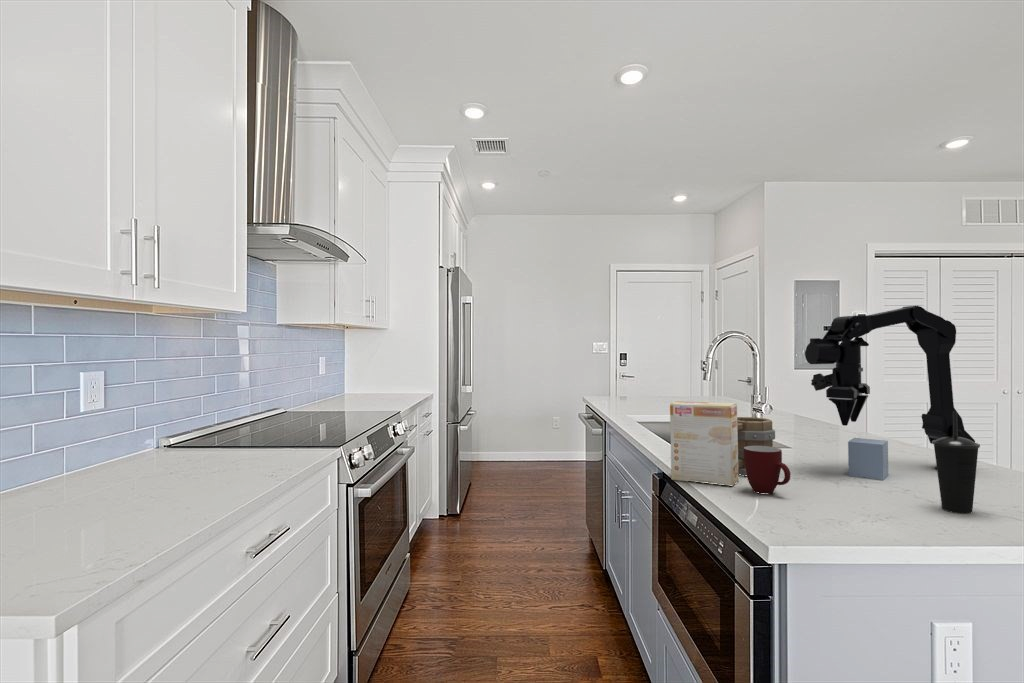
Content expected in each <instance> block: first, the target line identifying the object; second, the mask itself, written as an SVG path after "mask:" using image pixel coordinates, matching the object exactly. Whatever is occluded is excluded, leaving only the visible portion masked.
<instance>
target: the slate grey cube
mask: <svg viewBox="0 0 1024 683" xmlns="http://www.w3.org/2000/svg"><path fill="white" fill-rule="evenodd" d="M847 451H848V452H847V457H848V459H847V460H848V477H854V476H857V477H856V478H861V477H866V478H865V479H869V478H875V479H874V480H877V479H882V480H881V481H884V480H885V479H886V478H887V477H888V476H889V475H888V474H889V441H888V440H886V439H885V440H884V439H874V438H872V439H871V438H862V437H853V438H852V439H850V440H848V441H847ZM887 475H888V476H887ZM886 476H887V477H886ZM885 477H886V478H885Z"/></svg>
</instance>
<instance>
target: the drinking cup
mask: <svg viewBox="0 0 1024 683" xmlns="http://www.w3.org/2000/svg"><path fill="white" fill-rule="evenodd" d="M957 412H958V411H957V410H956V411H953V436H949V437H942V438H939V439H937V440H933V441H932V444H931V445H933V449H934V456H935V463H936V465H937V469H936V472H937V478H938V487H939V494H940V503H941V508H943V509H942V510H944V511H946V510H947V512H950V511H952V513H955V512H957V513H956V514H972V513H973V507H974V497H975V488H976V487H975V486H976V476H977V466H978V465H977V464H978V455H979V449H980V448H981V445H980V443H978V442H976V441H975V442H973V441H971V440H969V439H966V438H962V437H958V433H957ZM971 512H972V513H971Z"/></svg>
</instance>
